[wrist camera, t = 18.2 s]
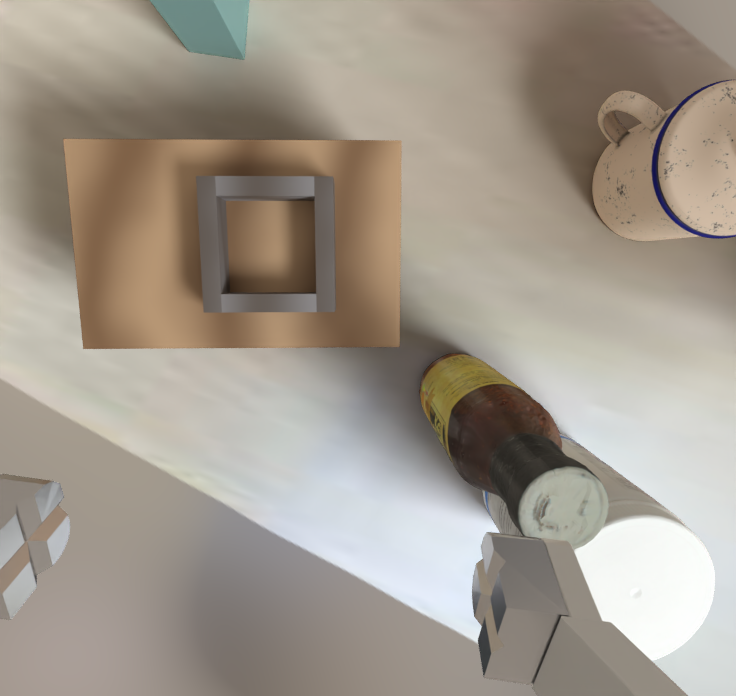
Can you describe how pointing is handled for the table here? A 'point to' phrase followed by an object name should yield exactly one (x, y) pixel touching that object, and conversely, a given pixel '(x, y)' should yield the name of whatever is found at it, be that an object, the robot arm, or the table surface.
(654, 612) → the supplement tub
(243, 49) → the teal rectangular block
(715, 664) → the table surface
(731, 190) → the teacup with lid
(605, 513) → the sauce bottle
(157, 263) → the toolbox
